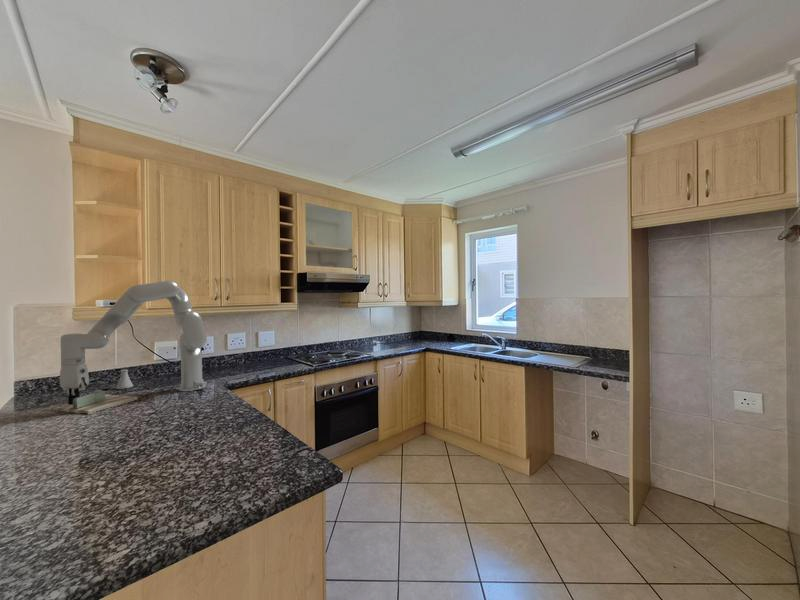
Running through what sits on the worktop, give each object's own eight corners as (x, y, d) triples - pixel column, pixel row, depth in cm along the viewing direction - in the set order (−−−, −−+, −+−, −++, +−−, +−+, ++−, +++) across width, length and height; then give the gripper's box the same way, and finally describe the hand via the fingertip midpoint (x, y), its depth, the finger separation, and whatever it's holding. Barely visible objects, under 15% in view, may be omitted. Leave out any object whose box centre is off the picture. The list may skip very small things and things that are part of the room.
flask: (123, 390, 176) (122, 371, 176) (112, 389, 177) (112, 371, 177) (136, 386, 183) (136, 368, 183) (126, 385, 184) (125, 368, 184)
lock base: (137, 399, 157) (137, 396, 157) (88, 414, 137) (88, 410, 137) (106, 397, 162) (106, 394, 162) (55, 411, 142) (55, 407, 142)
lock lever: (99, 399, 152) (99, 389, 152) (108, 399, 152) (108, 389, 152) (68, 408, 140) (68, 397, 140) (78, 408, 139) (78, 397, 139)
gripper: (96, 360, 145) (97, 401, 145) (69, 360, 147) (70, 400, 147) (77, 363, 137) (78, 407, 137) (49, 363, 140) (50, 405, 140)
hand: (74, 403), depth 142 cm, fingers closed
